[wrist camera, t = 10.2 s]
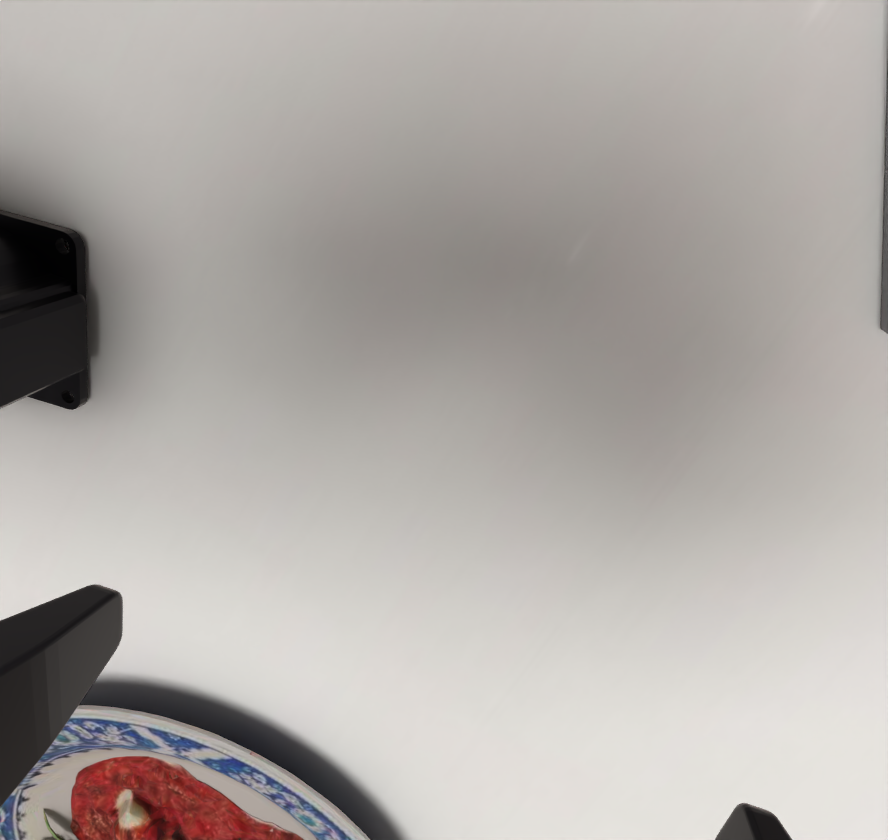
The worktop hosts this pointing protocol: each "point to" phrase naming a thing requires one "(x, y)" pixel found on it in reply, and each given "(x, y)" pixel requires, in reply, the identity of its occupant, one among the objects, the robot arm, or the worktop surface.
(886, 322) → the coaster
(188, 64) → the worktop surface
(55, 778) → the ceramic plate
